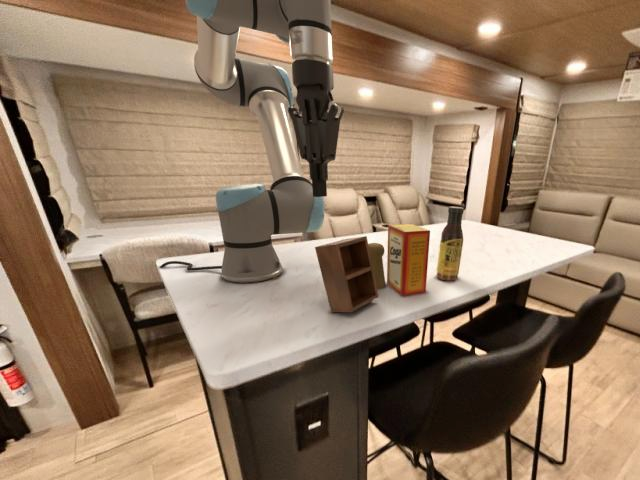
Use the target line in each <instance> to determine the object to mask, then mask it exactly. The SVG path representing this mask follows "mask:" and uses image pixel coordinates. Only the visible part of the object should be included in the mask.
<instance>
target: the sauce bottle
mask: <svg viewBox="0 0 640 480" xmlns="http://www.w3.org/2000/svg"><path fill="white" fill-rule="evenodd" d="M464 210H465V208H464V207H463V206H448V209H447V212H448V215H447V216H448V217H447V220H446V225H445V226H444V227H443V228H442V229H443V230H442V231H441V238H440V241H439V249H438V259H437V267H436V277H437V279H439V280H442V281H451V282H452V281H455V280H457V279H458V275H459V273H460V267H461V258H462V251H463V247H464V246H463V245H464V234H463V229H462V223H463V222H462V221H463V214H464Z"/></svg>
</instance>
